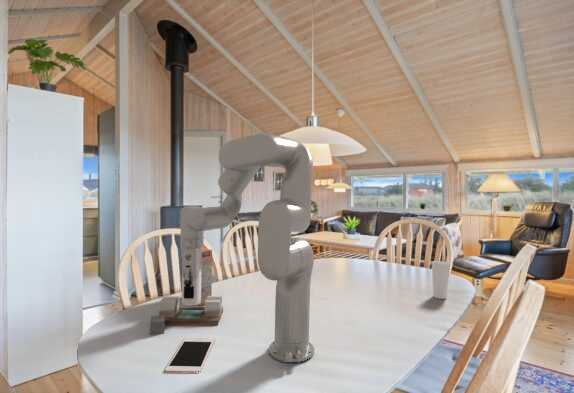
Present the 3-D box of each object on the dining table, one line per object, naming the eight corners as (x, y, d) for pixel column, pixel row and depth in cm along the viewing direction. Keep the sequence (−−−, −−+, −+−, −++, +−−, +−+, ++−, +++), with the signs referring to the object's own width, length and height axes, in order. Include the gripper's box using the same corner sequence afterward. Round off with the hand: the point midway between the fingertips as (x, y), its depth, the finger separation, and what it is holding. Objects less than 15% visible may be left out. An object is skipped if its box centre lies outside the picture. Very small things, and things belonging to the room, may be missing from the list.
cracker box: (212, 303, 131) (213, 249, 130) (198, 306, 127) (198, 251, 126) (194, 294, 141) (195, 244, 141) (181, 297, 137) (181, 246, 136)
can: (181, 307, 112) (181, 271, 112) (181, 300, 118) (182, 267, 118) (201, 306, 114) (201, 270, 113) (200, 299, 120) (201, 266, 120)
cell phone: (215, 340, 101) (215, 337, 101) (200, 374, 83) (200, 371, 83) (185, 340, 101) (185, 337, 100) (164, 374, 83) (164, 370, 83)
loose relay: (164, 333, 104) (164, 320, 104) (150, 335, 103) (150, 322, 103) (164, 327, 109) (164, 314, 109) (151, 328, 108) (151, 316, 107)
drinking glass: (430, 298, 142) (431, 263, 141) (431, 294, 148) (432, 260, 147) (448, 301, 139) (449, 265, 138) (448, 296, 145) (450, 261, 144)
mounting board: (217, 325, 111) (218, 305, 111) (155, 325, 110) (155, 305, 109) (222, 311, 123) (223, 293, 123) (166, 311, 122) (167, 293, 121)
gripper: (197, 247, 107) (196, 303, 108) (207, 238, 124) (207, 287, 125) (173, 247, 106) (173, 303, 107) (187, 238, 124) (186, 286, 124)
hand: (191, 294), depth 116 cm, fingers closed on can, 6 cm apart
